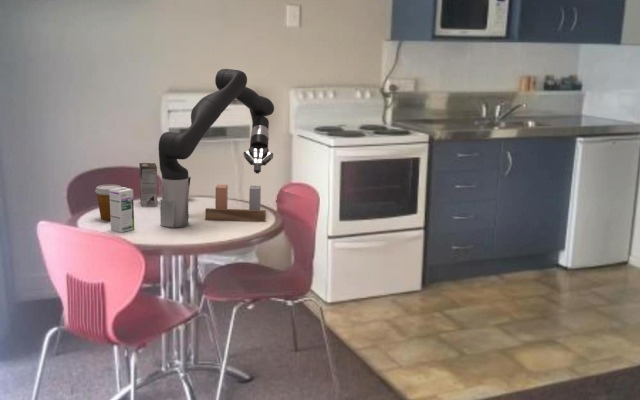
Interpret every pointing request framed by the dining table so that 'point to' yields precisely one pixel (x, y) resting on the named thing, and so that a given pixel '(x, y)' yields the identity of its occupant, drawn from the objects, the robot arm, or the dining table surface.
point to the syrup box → (121, 209)
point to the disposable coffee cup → (104, 200)
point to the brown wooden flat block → (235, 215)
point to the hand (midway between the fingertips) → (257, 172)
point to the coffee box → (148, 184)
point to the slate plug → (254, 197)
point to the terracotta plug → (221, 197)
